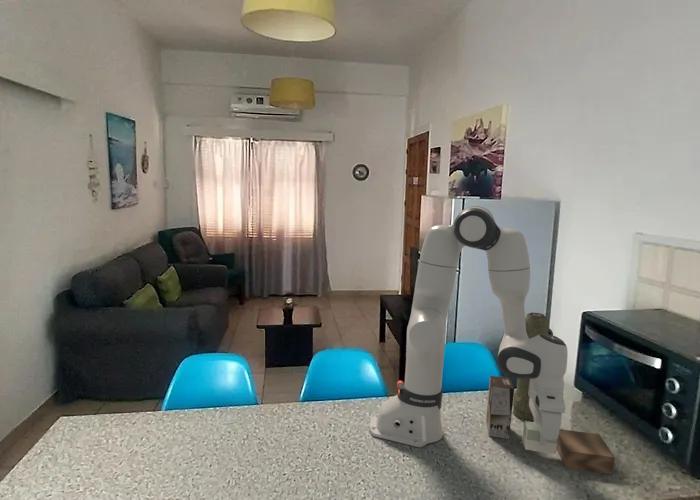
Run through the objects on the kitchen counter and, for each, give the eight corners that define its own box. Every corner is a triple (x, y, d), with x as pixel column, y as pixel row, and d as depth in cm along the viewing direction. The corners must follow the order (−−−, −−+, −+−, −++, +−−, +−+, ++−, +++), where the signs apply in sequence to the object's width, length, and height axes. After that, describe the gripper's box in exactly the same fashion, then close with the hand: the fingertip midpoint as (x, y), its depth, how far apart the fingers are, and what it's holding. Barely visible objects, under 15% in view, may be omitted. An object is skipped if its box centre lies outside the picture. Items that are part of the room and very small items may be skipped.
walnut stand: (565, 467, 128) (567, 450, 128) (554, 444, 140) (556, 428, 139) (612, 474, 126) (614, 457, 126) (597, 449, 138) (599, 434, 137)
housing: (525, 449, 131) (527, 429, 130) (522, 440, 136) (524, 420, 135) (555, 454, 130) (558, 433, 129) (551, 444, 135) (553, 424, 134)
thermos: (503, 410, 160) (512, 311, 155) (533, 407, 163) (543, 310, 158) (518, 423, 152) (529, 318, 147) (549, 420, 155) (561, 318, 150)
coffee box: (509, 439, 142) (515, 389, 139) (487, 436, 143) (492, 386, 141) (506, 424, 151) (510, 377, 148) (485, 421, 152) (489, 374, 150)
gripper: (526, 376, 141) (521, 418, 143) (541, 407, 121) (535, 456, 123) (548, 378, 140) (543, 421, 142) (567, 410, 120) (560, 460, 122)
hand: (539, 438), depth 133 cm, fingers closed on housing, 5 cm apart
